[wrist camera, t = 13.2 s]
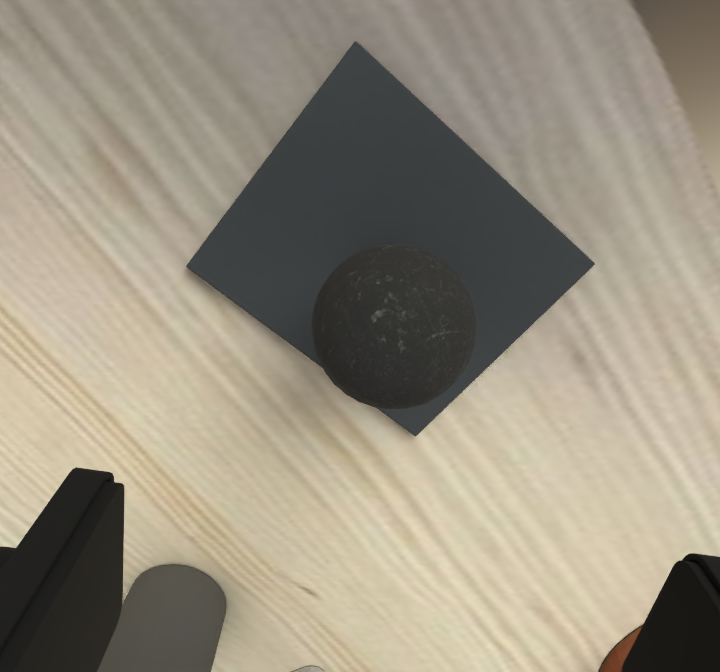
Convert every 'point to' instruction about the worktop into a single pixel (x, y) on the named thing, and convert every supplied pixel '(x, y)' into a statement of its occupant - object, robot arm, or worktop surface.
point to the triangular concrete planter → (309, 669)
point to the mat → (384, 219)
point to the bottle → (167, 623)
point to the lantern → (619, 654)
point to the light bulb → (394, 326)
